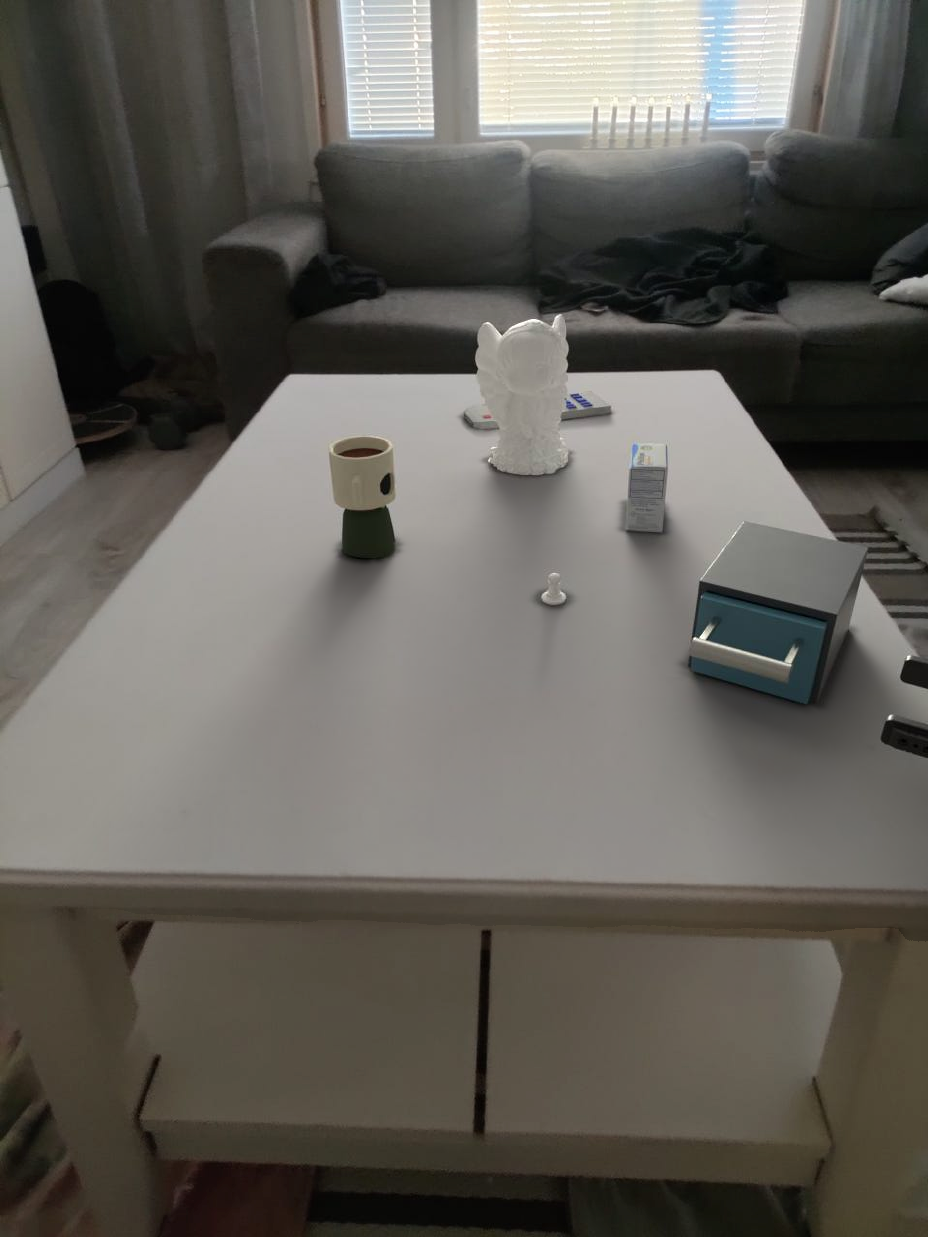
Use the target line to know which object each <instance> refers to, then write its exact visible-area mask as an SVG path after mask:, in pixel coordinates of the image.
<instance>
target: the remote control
mask: <svg viewBox="0 0 928 1237" xmlns="http://www.w3.org/2000/svg"><path fill="white" fill-rule="evenodd" d="M565 401H566V408H565V409H564V410H562V411H561V416H560V417H561V421H562V420H569V419H577V418H585V417H593V416H599V415H607V414H611V413H612V404H610V403H608V402H607V401H605V400H604V399H602V398H601V397H600V396H598V395H597V394H596V393H594V392H593V391H592V390H591V391H581V392H573V393H568V394H567V396H566V397H565ZM463 418H464V419H465V420H466V421H467V422H468V423H469V425H470V426H471V427H472V428H475V429H479V430H489V429H498V428H499V427H498V424H497V422H496V421H494V420H493V419H492V418H491V416H490V411H489V410H488V409H487V407H486V405H485V403H482V404H474V405H471V406H468V407H466V408H465V409H464V410H463ZM499 429H500V428H499Z"/></svg>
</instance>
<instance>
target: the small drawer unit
mask: <svg viewBox="0 0 928 1237" xmlns="http://www.w3.org/2000/svg"><path fill="white" fill-rule="evenodd" d="M868 552H869V546H866V545H865V546H864V545H860V544H856V543H851V542H846V541H841V540H836V539H831V538H826V537H821V536H817V535H812V534H808V533H802V532H797V531H794V530H789V529H783V528H780V527H779V528H778V527H775V526H770V525H764V524H760V523H757V522H756V523H755V522H751V521H746V520H744V521H743V522H742V523H741V525H740V526H739V527H738V529H737V530H736V531H735V532H734V534H733V535H732V537H731V538H730V539H729V541H728V542H727V543H726V544H725V546H724V547H723V549H722V550H721V551H720V552H719V554H718V556H717V557H716V558H715V559H714V561H713V562H712V563H711V565H710V566H709V567H708V569H707V570H706V571H705V573H704V574H703V576H702V577H701V578H700V579H699V582H698V590H697V597H696V605H695V611H694V618H693V626H692V633H691V639H690V644H691V643H692V640H693V639H694V638H695V634H696V627H697V619H698V612H699V605H700V598H701V596H702V595H703V594H704V592H708V593H712V594H716V593H719V594H723V595H727V596H731V597H735V598H739V599H743V600H747V601H751V602H755V603H759V604H763V605H767V606H771V607H775V608H779V609H783V610H787V611H791V612H795V613H799V614H803V615H807V616H811V617H815V618H819V619H823V620H826V621H825V622H827V627H826V632H825V636H824V640H823V645H822V649H821V653H820V657H819V662H818V666H817V670H816V675H815V679H814V683H813V687H812V692H811V696H810V699H809V701H808V702H811V703H815V704H817V703H818V701H819V698H820V696H821V694H822V692H823V689H824V687H825V685H826V682H827V680H828V678H829V675H830V673H831V670H832V668H833V666H834V664H835V661H836V659H837V657H838V654H839V652H840V650H841V647H842V645H843V643H844V640H845V639H846V636H847V633H848V631H849V629H850V624H851V620H852V616H853V612H854V609H855V604H856V601H857V600H856V599H857V596H858V592H859V588H860V584H861V581H862V580H861V579H862V576H863V572H864V568H865V564H866V559H867V555H868ZM691 662H692V656H690V655H689V654H688V662H687V666H688V667H691Z"/></svg>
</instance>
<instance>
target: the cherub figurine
mask: <svg viewBox="0 0 928 1237" xmlns="http://www.w3.org/2000/svg"><path fill="white" fill-rule="evenodd" d="M566 337H567V324H566V320H565V317H564V315H563V314H558V315H556V316H555V317H554V319H553V322H552V325H550V324H548V323H547V322H544V321H542V320H540V319H535V318H533V319H527V320H525V321H522V322H520V323H517V324H514V325H512V326H511V327H509V328H508V329H507V330H506V331H505V332H504V333H503V334H501V333H500V332H499V331H498V330H497V328H496V327H495V326H494V325H493V324H492V323H490V322H483V323H482V324H481V326H480V328H479V329H478V332H477V338H476V340H477V345H478V347H477V349H476V351H475V357H474V360H475V364H476V367H477V371H476V376H475V377H476V381H477V382H476V383H477V384H478V385H479V386H480V387H479V393H480V396H481V398H483V399H484V404H485V405H486V407H487V409H488V410H489V411H490V416H491V418H492V419H493V420H494V421H496V422H497V424H498V427H499V430H498V435H499V440H498V442H497V446H495V447H491V448H490V452H491V453H492V457H489V458H488V464H491V465H493V467H495V468H496V469H497V470H498V471H500V472H506V473H507V474H508V473H509V474H514V475H521V476H529V475H532V476H542V475H543V474H547V475H551V474H554V473H556V471H557V470H558V469H560V468H564V467H565V466H566V465H567V463H569V459H568V457H569V456H568V455H569V450H568V447H567V443H566V442H564V440H565V439H564V437H561V435H560V431H561V429H560V427H559V423H561V422H562V420H561V417H560V416H561V411H562V410H564V409H565V408H566V401H565V397H566V396H567V394H569V389H568V387H567V383H568V380H569V375H568V373H567V371H568V367H569V363H568V359H567V357H568V354H569V351H570V348H569V344H568V341H567V339H566Z"/></svg>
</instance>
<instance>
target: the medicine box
mask: <svg viewBox="0 0 928 1237" xmlns="http://www.w3.org/2000/svg"><path fill="white" fill-rule="evenodd" d="M668 460H669V459H668V445H667V444H663V443H643V442H642V443H640V442H639V443H631V446H630V456H629V468H628V483H627V498H626V500H627V501H626V513H625V514H626V516H625V531H631V532H633V531H634V532H649V533H663V527H664V517H665V508H666V507H665V506H666V497H667V496H666V495H667V485H668V474H669V473H668V472H669V467H668V466H669V465H668V463H669V461H668Z"/></svg>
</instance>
